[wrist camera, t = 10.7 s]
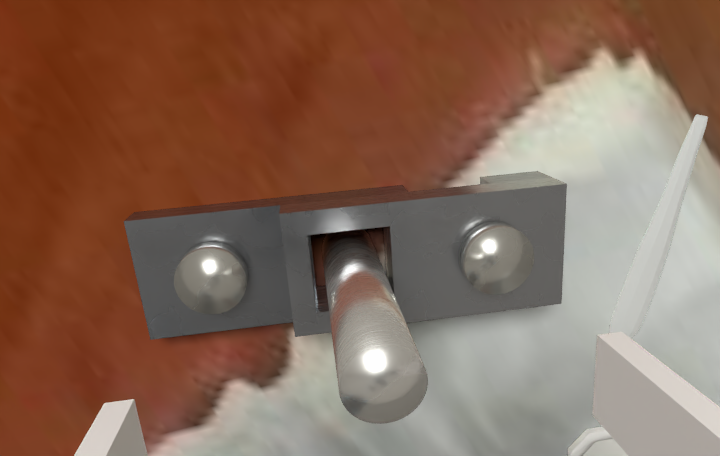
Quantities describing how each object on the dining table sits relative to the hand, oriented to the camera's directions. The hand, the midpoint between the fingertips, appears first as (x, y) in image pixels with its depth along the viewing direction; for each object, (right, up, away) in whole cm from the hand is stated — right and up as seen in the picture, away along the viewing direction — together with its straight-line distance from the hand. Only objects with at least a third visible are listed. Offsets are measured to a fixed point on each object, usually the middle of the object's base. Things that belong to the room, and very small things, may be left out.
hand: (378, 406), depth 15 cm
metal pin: (-1, +4, +12) cm, 13 cm away
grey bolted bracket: (-1, +4, +12) cm, 12 cm away
